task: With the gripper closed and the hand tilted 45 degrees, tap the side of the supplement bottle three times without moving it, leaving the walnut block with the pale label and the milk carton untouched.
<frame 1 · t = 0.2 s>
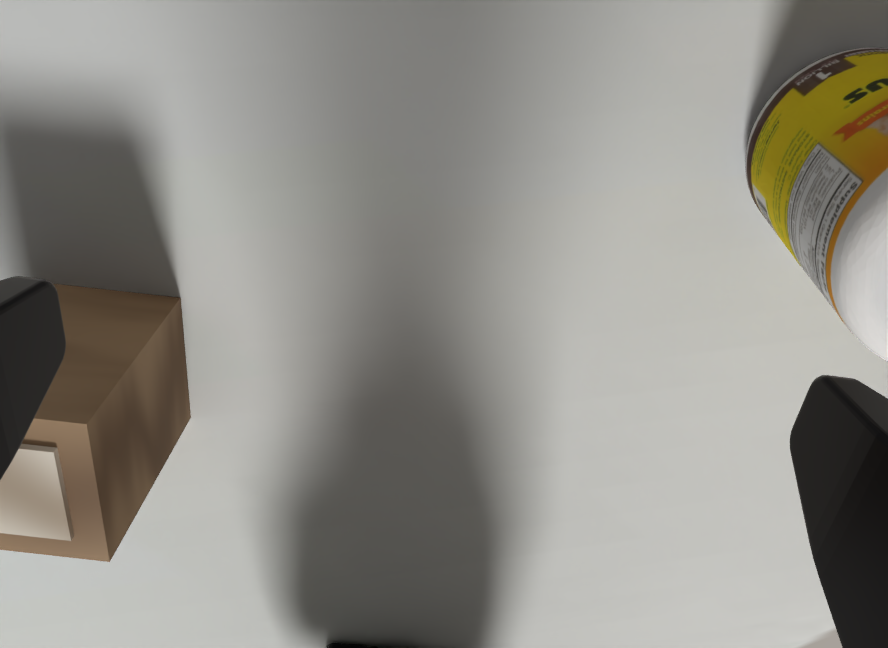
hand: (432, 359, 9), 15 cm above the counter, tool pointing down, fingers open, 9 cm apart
supplement bottle: (835, 140, 23), on the counter
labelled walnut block: (115, 352, 28), on the counter
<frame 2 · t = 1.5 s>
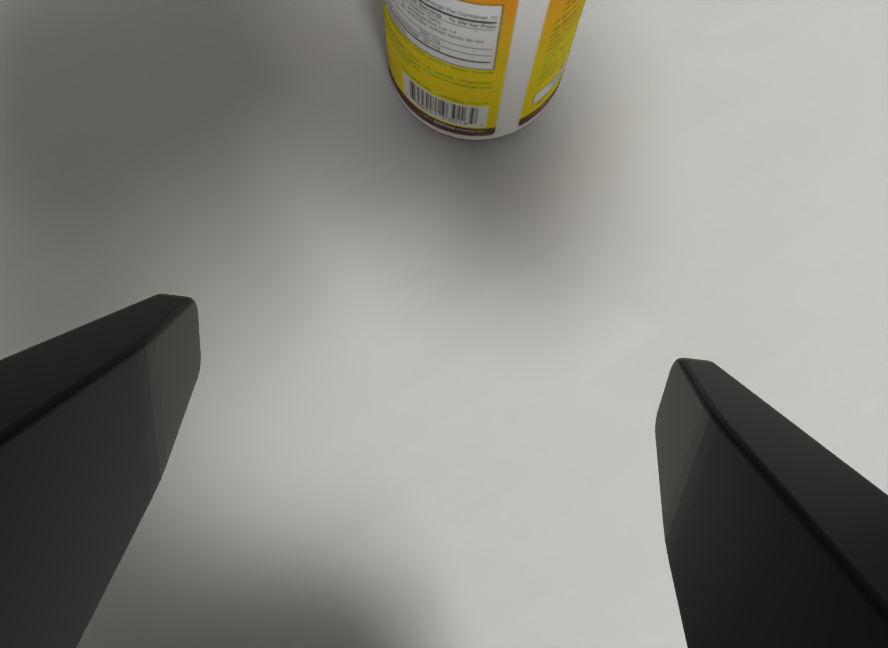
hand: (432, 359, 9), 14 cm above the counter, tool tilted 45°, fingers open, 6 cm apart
supplement bottle: (472, 72, 26), on the counter
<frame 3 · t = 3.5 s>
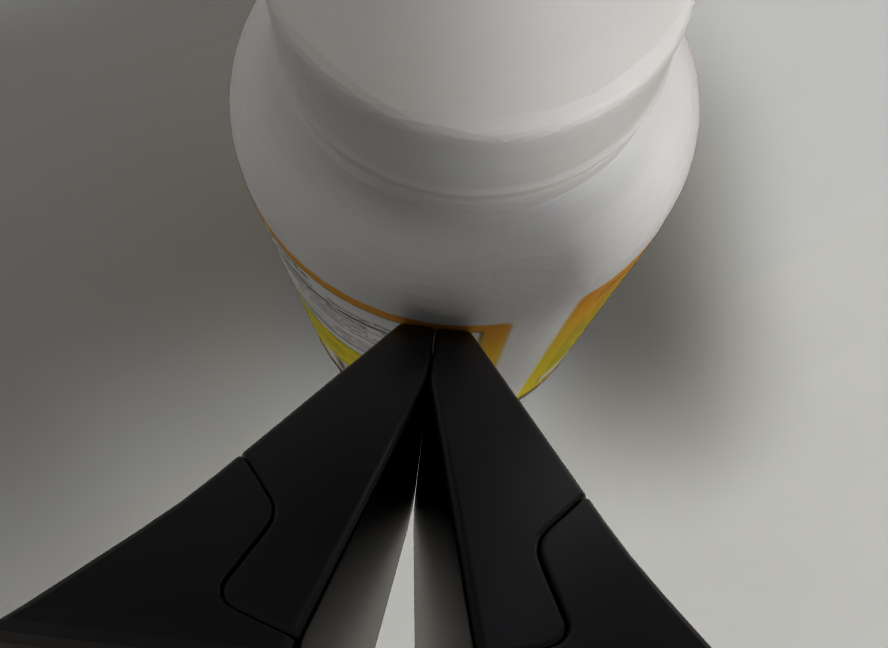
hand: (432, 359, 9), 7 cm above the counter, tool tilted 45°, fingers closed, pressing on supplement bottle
supplement bottle: (443, 298, 17), on the counter, touching gripper
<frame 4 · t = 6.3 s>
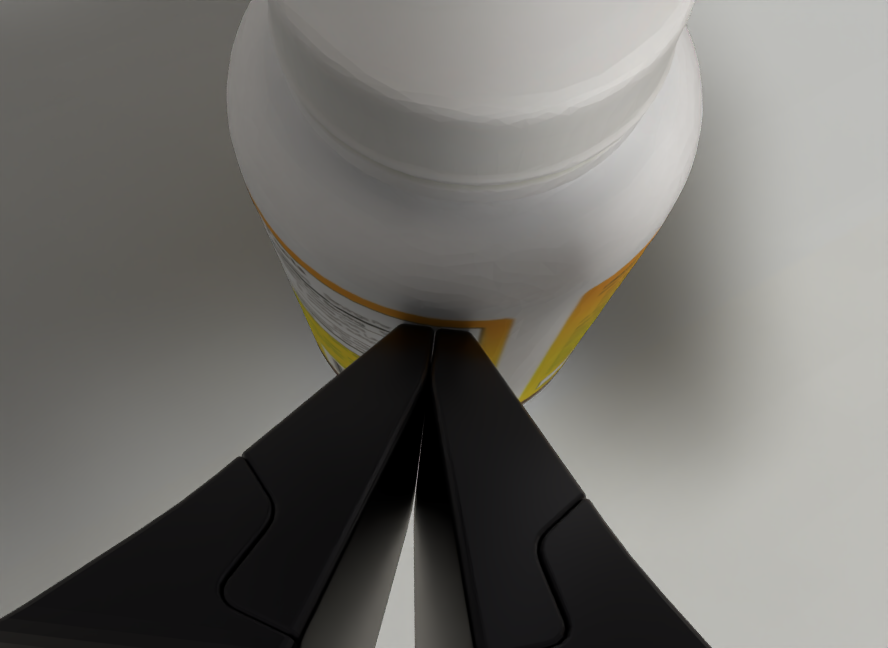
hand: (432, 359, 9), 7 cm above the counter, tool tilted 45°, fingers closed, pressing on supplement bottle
supplement bottle: (442, 305, 17), on the counter, touching gripper
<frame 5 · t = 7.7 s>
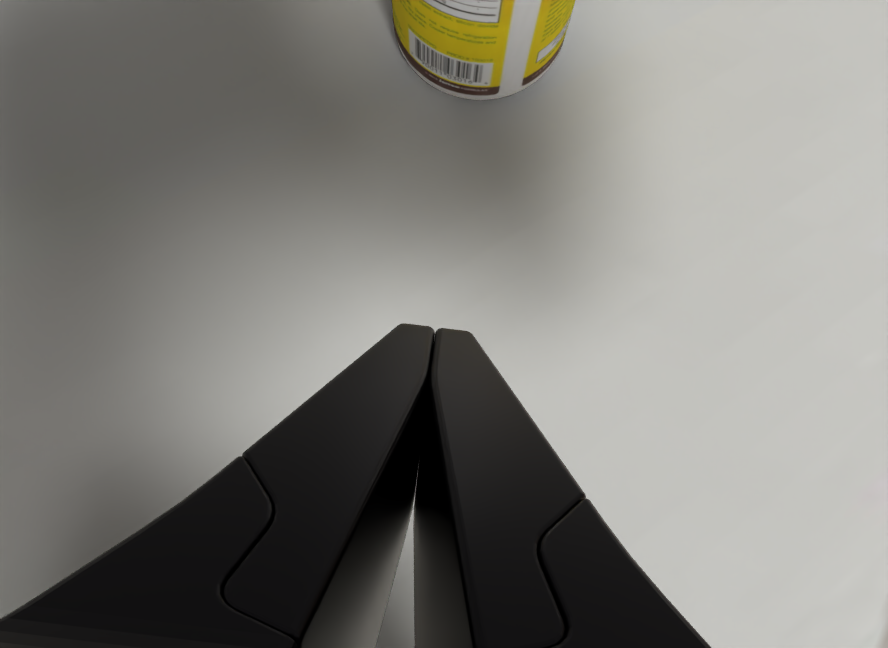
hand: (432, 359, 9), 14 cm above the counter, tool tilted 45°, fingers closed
supplement bottle: (476, 35, 26), on the counter
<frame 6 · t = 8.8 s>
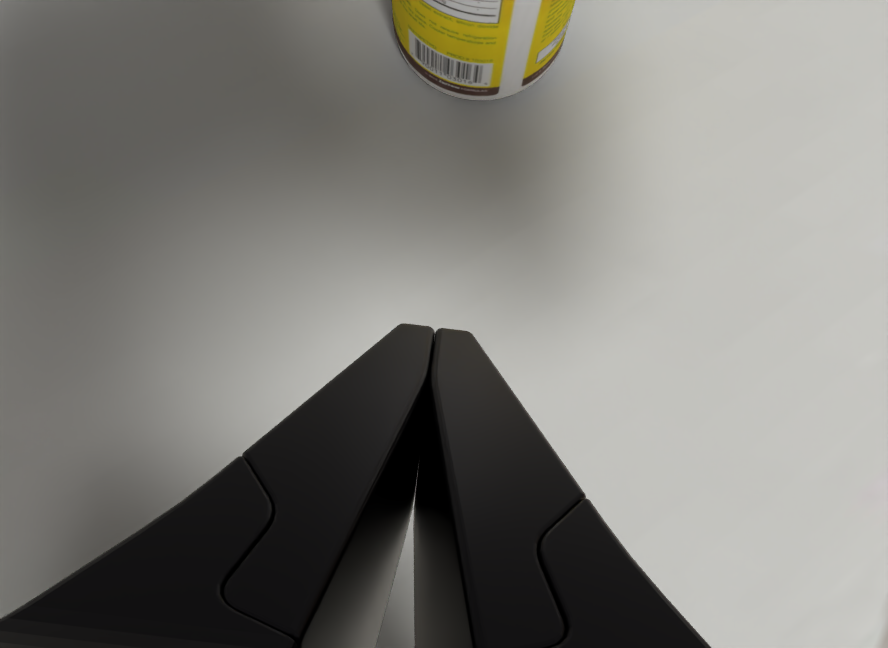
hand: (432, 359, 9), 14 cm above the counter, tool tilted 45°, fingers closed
supplement bottle: (476, 36, 26), on the counter
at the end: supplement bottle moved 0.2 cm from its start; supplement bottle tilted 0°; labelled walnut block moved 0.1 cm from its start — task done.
